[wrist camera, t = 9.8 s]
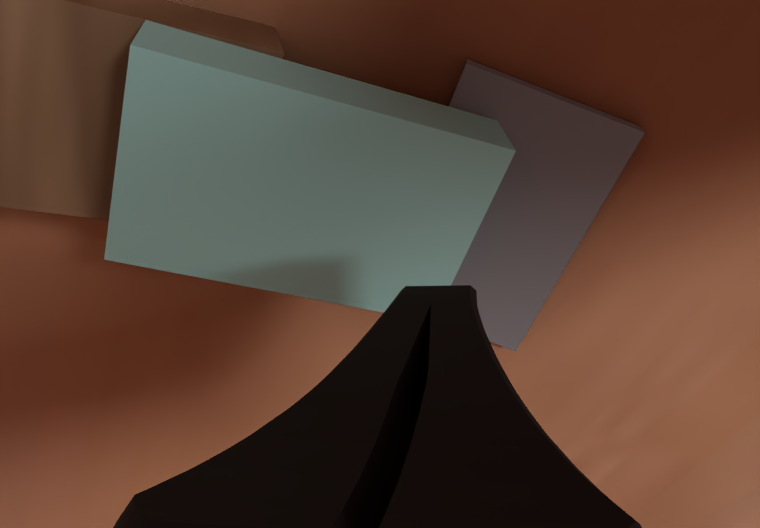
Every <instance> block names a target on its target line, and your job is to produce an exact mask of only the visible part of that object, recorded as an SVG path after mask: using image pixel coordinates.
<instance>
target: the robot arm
mask: <svg viewBox="0 0 760 528" xmlns="http://www.w3.org/2000/svg"><path fill="white" fill-rule="evenodd" d="M113 528H642V527H641V525H640V524H639V523H638V522H637V521H635V520H634V519H633V518H632V517H631V516H629V515H628V514H627V513H626V512H625V511H623V510H622V509H621V508H620V507H618V506H617V505H616V504H615V503H614V502H612V501H611V500H610V499H609V498H608V497H607V496H606V495H605V494H603V493H602V492H601V491H600V490H599V489H598V488H597V487H596V486H595V485H594V484H593V483H592V482H591V481H590V480H589V479H588V478H587V477H586V476H585V475H584V474H583V473H581V472H580V471H579V470H578V469H577V468H576V467H575V465H574V464H573V463H572V462H571V461H570V460H569V459H568V458H567V456H566V455H565V454H564V453H563V452H562V451H561V450H560V449H559V447H558V446H557V445H556V444H555V443H554V442H553V441H552V440H551V439H550V437H549V436H548V435H547V434H546V433H545V431H544V430H543V429H542V428H541V426H540V425H539V424H538V422H537V421H536V420H535V418H534V417H533V416H532V414H531V413H530V412H529V410H528V409H527V407H526V406H525V404H524V403H523V401H522V400H521V399H520V397H519V395H518V394H517V392H516V391H515V389H514V388H513V386H512V384H511V383H510V381H509V379H508V377H507V376H506V374H505V372H504V370H503V368H502V367H501V365H500V363H499V361H498V359H497V357H496V355H495V353H494V350H493V348H492V346H491V344H490V341H489V339H488V337H487V335H486V332H485V329H484V327H483V324H482V321H481V318H480V314H479V311H478V306H477V291H476V290H475V289H474V288H473V287H472V286H471V285H450V286H405V287H404V288H403V289H402V290H401V291H400V292H399V294H398V295H397V296H396V297H395V299H394V300H393V301H392V303H391V304H390V305H389V307H388V308H387V309H386V311H385V312H384V313H383V314H382V316H381V317H380V318H379V319H378V321H377V322H376V323H375V324H374V325H373V327H372V328H371V329H370V330H369V331H368V332H367V334H366V335H365V336H364V337H363V338H362V339H361V341H360V342H359V343H358V344H357V345H356V346H355V347H354V349H353V350H352V351H351V352H350V353H349V354H348V355H347V356H346V357H345V358H344V359H343V360H342V361H341V362H340V363H339V364H338V365H337V366H336V367H335V368H334V369H333V370H332V371H331V372H330V373H329V374H328V375H327V376H326V377H325V378H324V379H323V380H322V381H321V382H320V383H319V384H318V385H317V386H316V387H314V388H313V389H312V390H311V391H310V392H309V393H307V394H306V395H305V396H304V397H303V398H301V399H300V400H299V401H298V402H296V403H295V404H294V405H293V406H291V407H290V408H289V409H287V410H286V411H284V412H283V413H282V414H280V415H279V416H277V417H276V418H274V419H273V420H272V421H270V422H269V423H267V424H266V425H264V426H263V427H262V428H260V429H259V430H257V431H256V432H254V433H253V434H251V435H250V436H248V437H247V438H245V439H243V440H242V441H240V442H238V443H237V444H235V445H233V446H232V447H230V448H228V449H227V450H225V451H223V452H221V453H220V454H218V455H216V456H214V457H212V458H211V459H209V460H207V461H205V462H203V463H201V464H199V465H198V466H196V467H194V468H192V469H190V470H188V471H186V472H183V473H181V474H179V475H177V476H175V477H173V478H171V479H168V480H166V481H164V482H162V483H160V484H158V485H156V486H154V487H151V488H149V489H147V490H145V491H142V492H140V493H138V494H135V495H134V497H133V498H132V500H131V501H130V503H129V504H128V506H127V507H126V509H125V510H124V512H123V513H122V514H121V516H120V517H119V519H118V520H117V522H116V524H115V526H114V527H113Z"/></svg>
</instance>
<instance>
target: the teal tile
mask: <svg viewBox="0 0 760 528" xmlns="http://www.w3.org/2000/svg"><path fill="white" fill-rule="evenodd" d="M515 152H516V150H515V148H514V147H513V145H512V143H511V142H510V140H509V138H508V137H507V135H506V134H505V132H504V130H503V129H502V127H501V125H500V124H499V122H498V121H497V120H494V119H491V118H487V117H484V116H480V115H477V114H473V113H470V112H466V111H463V110H459V109H456V108H452V107H449V106H445V105H442V104H438V103H435V102H431V101H428V100H424V99H421V98H417V97H414V96H410V95H407V94H403V93H400V92H396V91H393V90H389V89H386V88H382V87H379V86H375V85H372V84H368V83H365V82H361V81H358V80H354V79H351V78H347V77H344V76H340V75H337V74H333V73H330V72H326V71H323V70H319V69H316V68H312V67H309V66H305V65H302V64H298V63H295V62H291V61H288V60H284V59H281V58H277V57H274V56H270V55H267V54H264V53H260V52H257V51H253V50H250V49H246V48H243V47H239V46H236V45H232V44H229V43H225V42H222V41H218V40H215V39H211V38H208V37H204V36H201V35H197V34H194V33H190V32H187V31H183V30H180V29H176V28H173V27H169V26H166V25H162V24H159V23H155V22H152V21H148V20H145V22H144V23H143V25H142V27H141V28H140V30H139V31H138V33H137V35H136V36H135V38H134V40H133V41H132V43H131V44H130V51H129V59H128V68H127V76H126V84H125V92H124V100H123V109H122V117H121V125H120V133H119V141H118V150H117V158H116V166H115V174H114V182H113V191H112V199H111V207H110V215H109V223H108V231H107V240H106V248H105V256H104V260H109V261H114V262H119V263H125V264H130V265H135V266H140V267H146V268H151V269H156V270H161V271H167V272H172V273H177V274H183V275H188V276H193V277H198V278H204V279H209V280H214V281H219V282H225V283H230V284H235V285H241V286H246V287H251V288H256V289H262V290H267V291H272V292H278V293H283V294H288V295H293V296H299V297H304V298H309V299H314V300H320V301H325V302H330V303H336V304H341V305H346V306H351V307H357V308H362V309H367V310H372V311H378V312H383V313H384V312H385V311H386V309H387V308H388V307H389V305H390V304H391V303H392V301H393V300H394V299H395V297H396V296H397V295H398V294H399V292H400V291H401V290H402V289H403V288H404V287H405V286H450V285H451V284H452V282H453V280H454V278H455V276H456V274H457V272H458V270H459V268H460V265H461V263H462V261H463V259H464V257H465V255H466V253H467V251H468V249H469V247H470V245H471V243H472V241H473V239H474V236H475V234H476V232H477V230H478V228H479V226H480V224H481V222H482V220H483V218H484V216H485V214H486V212H487V210H488V208H489V205H490V203H491V201H492V199H493V197H494V195H495V193H496V191H497V189H498V187H499V185H500V183H501V181H502V179H503V177H504V174H505V172H506V170H507V168H508V166H509V164H510V162H511V160H512V158H513V156H514V154H515Z"/></svg>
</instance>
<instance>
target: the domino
mask: <svg viewBox="0 0 760 528" xmlns="http://www.w3.org/2000/svg"><path fill="white" fill-rule="evenodd" d="M145 20H148V21H152V22H155V23H159V24H162V25H166V26H169V27H173V28H176V29H180V30H183V31H187V32H190V33H194V34H197V35H201V36H204V37H208V38H211V39H215V40H218V41H222V42H225V43H229V44H232V45H236V46H239V47H243V48H246V49H250V50H253V51H257V52H260V53H264V54H267V55H270V56H274V57H277V58H281V59H283V56H284V50H283V47H282V45H281V42H280V40H279V37H278V35H277V32H276V30H275V28H273V27H270V26H266V25H262V24H258V23H254V22H250V21H246V20H242V19H238V18H234V17H230V16H225V15H221V14H217V13H213V12H209V11H205V10H201V9H197V8H193V7H189V6H185V5H181V4H177V3H173V2H169V1H165V0H0V207H2V208H10V209H18V210H27V211H35V212H43V213H52V214H60V215H68V216H77V217H85V218H93V219H102V220H109V215H110V207H111V199H112V191H113V182H114V174H115V166H116V158H117V150H118V141H119V133H120V125H121V117H122V109H123V100H124V92H125V84H126V76H127V68H128V59H129V51H130V44H131V43H132V41H133V40H134V38H135V36H136V35H137V33H138V31H139V30H140V28H141V27H142V25H143V23H144V22H145Z"/></svg>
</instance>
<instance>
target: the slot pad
mask: <svg viewBox="0 0 760 528" xmlns="http://www.w3.org/2000/svg"><path fill="white" fill-rule="evenodd" d="M449 107H452V108H456V109H459V110H463V111H466V112H470V113H473V114H477V115H480V116H484V117H487V118H491V119H494V120H497V121H498V122H499V124H500V125H501V127H502V129H503V130H504V132H505V134H506V135H507V137H508V138H509V140H510V142H511V143H512V145H513V147H514V148H515V150H516V152H515V154H514V156H513V158H512V160H511V162H510V164H509V166H508V168H507V170H506V172H505V174H504V177H503V179H502V181H501V183H500V185H499V187H498V189H497V191H496V193H495V195H494V197H493V199H492V201H491V203H490V205H489V208H488V210H487V212H486V214H485V216H484V218H483V220H482V222H481V224H480V226H479V228H478V230H477V232H476V234H475V236H474V239H473V241H472V243H471V245H470V247H469V249H468V251H467V253H466V255H465V257H464V259H463V261H462V263H461V265H460V268H459V270H458V272H457V274H456V276H455V278H454V280H453V282H452V284H451V285H471V286H472V287H473V288H474V289H475V290H476V291H477V306H478V311H479V314H480V318H481V321H482V324H483V327H484V329H485V332H486V335H487V337H488V339H489V341H490V342H492V343H495V344H497V345H500V346H503V347H505V348H508V349H511V350H513V351H516V350H517V348H518V347H519V345H520V343H521V342H522V340H523V338H524V337H525V335H526V333H527V331H528V330H529V328H530V326H531V325H532V323H533V321H534V320H535V318H536V316H537V315H538V313H539V311H540V309H541V308H542V306H543V304H544V303H545V301H546V299H547V298H548V296H549V294H550V293H551V291H552V289H553V287H554V286H555V284H556V282H557V281H558V279H559V277H560V276H561V274H562V272H563V271H564V269H565V267H566V266H567V264H568V262H569V260H570V259H571V257H572V255H573V254H574V252H575V250H576V249H577V247H578V245H579V244H580V242H581V240H582V238H583V237H584V235H585V233H586V232H587V230H588V228H589V227H590V225H591V223H592V222H593V220H594V218H595V216H596V215H597V213H598V211H599V210H600V208H601V206H602V205H603V203H604V201H605V200H606V198H607V196H608V195H609V193H610V191H611V189H612V188H613V186H614V184H615V183H616V181H617V179H618V178H619V176H620V174H621V173H622V171H623V169H624V167H625V166H626V164H627V162H628V161H629V159H630V157H631V156H632V154H633V152H634V151H635V149H636V147H637V145H638V144H639V142H640V140H641V139H642V137H643V135H644V134H645V132H644V130H643V128H642V127H641V126H638V125H636V124H633V123H630V122H628V121H625V120H623V119H620V118H618V117H615V116H613V115H610V114H607V113H605V112H602V111H600V110H597V109H595V108H592V107H589V106H587V105H584V104H582V103H579V102H577V101H574V100H572V99H569V98H566V97H564V96H561V95H559V94H556V93H554V92H551V91H548V90H546V89H543V88H541V87H538V86H536V85H533V84H530V83H528V82H525V81H523V80H520V79H518V78H515V77H513V76H510V75H507V74H505V73H502V72H500V71H497V70H495V69H492V68H489V67H487V66H484V65H482V64H479V63H477V62H474V61H472V60H469V59H467V62H466V64H465V67H464V69H463V72H462V74H461V76H460V79H459V81H458V84H457V86H456V89H455V91H454V94H453V96H452V99H451V101H450V104H449Z"/></svg>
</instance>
